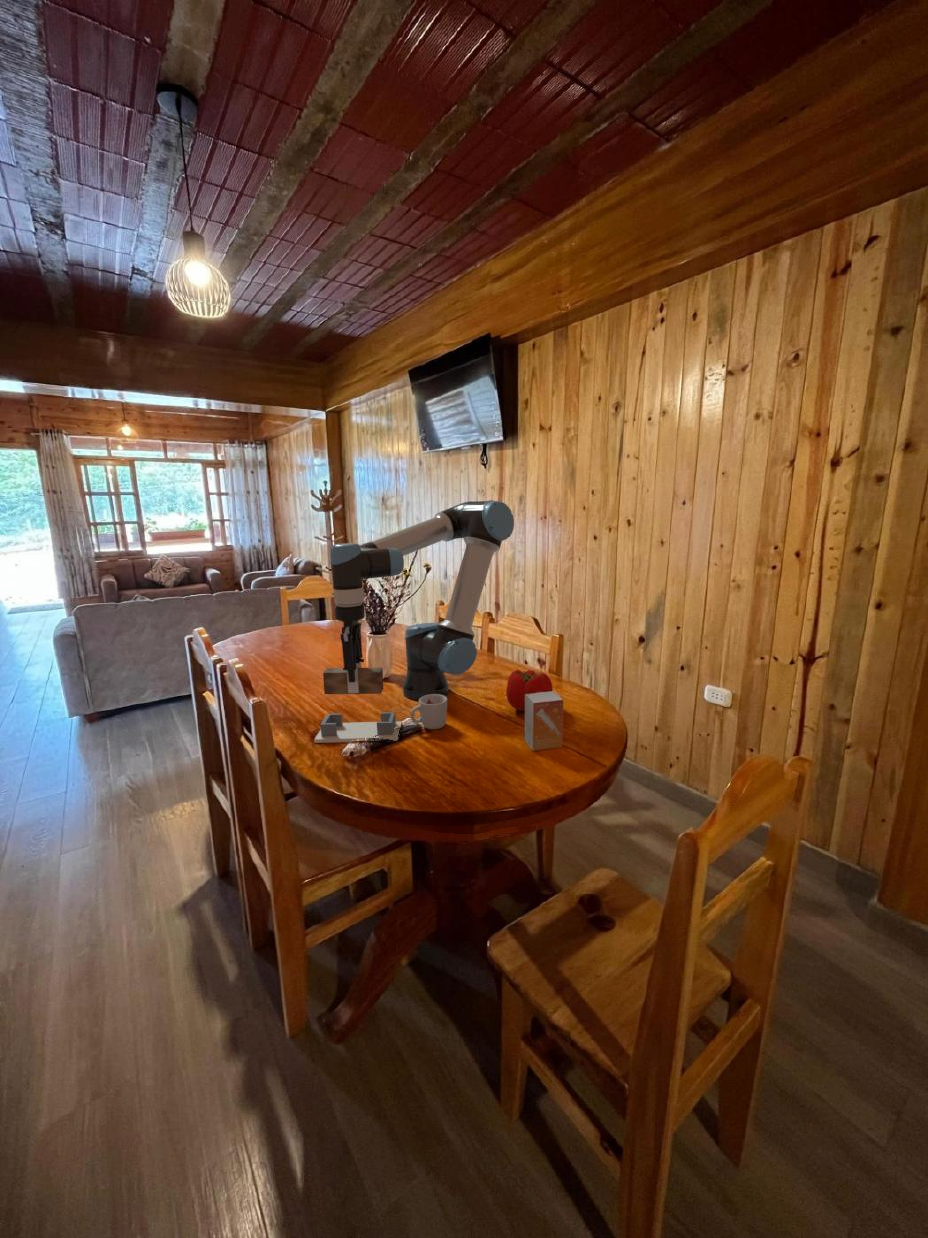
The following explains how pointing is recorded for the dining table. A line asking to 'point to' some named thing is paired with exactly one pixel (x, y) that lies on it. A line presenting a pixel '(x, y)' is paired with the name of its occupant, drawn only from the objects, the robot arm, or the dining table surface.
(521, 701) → the tomato
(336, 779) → the dining table surface
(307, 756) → the dining table surface
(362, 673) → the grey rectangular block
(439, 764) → the dining table surface
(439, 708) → the cup
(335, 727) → the board
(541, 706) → the small box
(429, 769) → the dining table surface
